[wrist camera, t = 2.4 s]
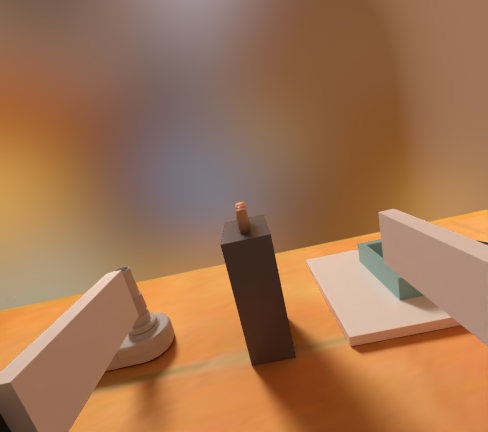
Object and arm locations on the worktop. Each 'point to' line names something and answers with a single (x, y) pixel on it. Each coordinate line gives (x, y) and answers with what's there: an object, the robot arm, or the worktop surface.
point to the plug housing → (257, 287)
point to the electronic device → (142, 332)
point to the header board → (373, 297)
